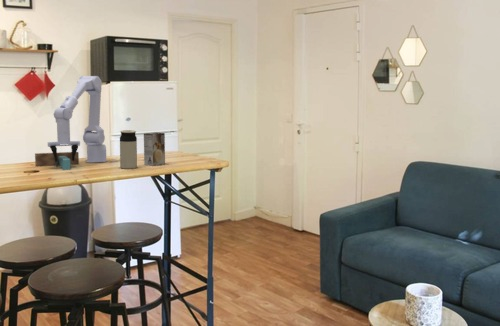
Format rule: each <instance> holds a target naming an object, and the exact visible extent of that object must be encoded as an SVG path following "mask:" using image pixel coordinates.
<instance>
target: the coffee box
mask: <svg viewBox="0 0 500 326" xmlns="http://www.w3.org/2000/svg"><path fill="white" fill-rule="evenodd" d="M165 136H166V135H165V132H146V133H143V156H144V157H143V162H144V163H143V164H144V165H145V166H152V167H155V166H160V165H165V164H166V148H165V147H166V142H165V140H166V139H165V138H166V137H165Z"/></svg>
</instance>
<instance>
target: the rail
mask: <svg viewBox="0 0 500 326" xmlns="http://www.w3.org/2000/svg"><path fill="white" fill-rule="evenodd" d="M58 166H59V167H60V168H61V169H62V170H64V171H71V166H70V159H69V158H68V157H66V156H59V165H58Z"/></svg>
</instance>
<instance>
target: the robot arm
mask: <svg viewBox="0 0 500 326" xmlns="http://www.w3.org/2000/svg"><path fill="white" fill-rule="evenodd" d="M102 82H103V81H102V80H101V78H100V77H99V76H98V75H90V76H89V75H80V76H79V78H78V79H77V85H76V87H75V88H74V90H73V92H72V94H71V95H68V96H65V99H64V101H63V102H62V103H61V104H60V106H59V107H57V108H55V110H54V111H53V117H54V118H55V123H56V132H57V133H56V135H57V136H56V137H57V139H56V141H48V142H47V147H49V149H50V150H51V153H53V155H54V158H55V162H57V153H58V151H57V150H58V149H57V147H68V146H69V147H70V148H71V149H70V150H71V152H72V161H74V157H75V154H76V152H78V148H79V147H80V146H81V141H79V140H77V141H76V140H71V127H70V125H71V124H70V122H71V121H70V120H71V119H72V117H73V112H74V110H75V108H76V107H77V105H78V103H79V101H78V100H79V99H80V97H81V96H82V95H83V94H84V93H85V92H86V93H88V95H89V105H88V107H89V109H88V111H89V112H88V125H87V126H86V127H85V128H84V131H83V135H82V140H83V142H84V143H85V145H86V159H84V160H85V162H87V163H106V162H107V161H108V160H107V146H106V144H104V142H105V140H106V138H105V130H104V129H103V128H102V127H101V125H100V123H101V122H100V120H101V119H100V118H101V102H102V101H101V100H102V99H101V97H102V95H101V94H102V86H103V85H102V84H103V83H102Z"/></svg>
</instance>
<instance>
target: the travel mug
mask: <svg viewBox="0 0 500 326" xmlns="http://www.w3.org/2000/svg"><path fill="white" fill-rule="evenodd" d="M119 132H120V137H119V165H120V166H119V168H121V169H123V170H129V169H131V170H132V169H133V168H134V169H137V168H138V147H137V146H138V143H137V142H138V141H137V140H138V138H137V136H136V132H137V131H136V130H127V129H126V130H120V131H119Z"/></svg>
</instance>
